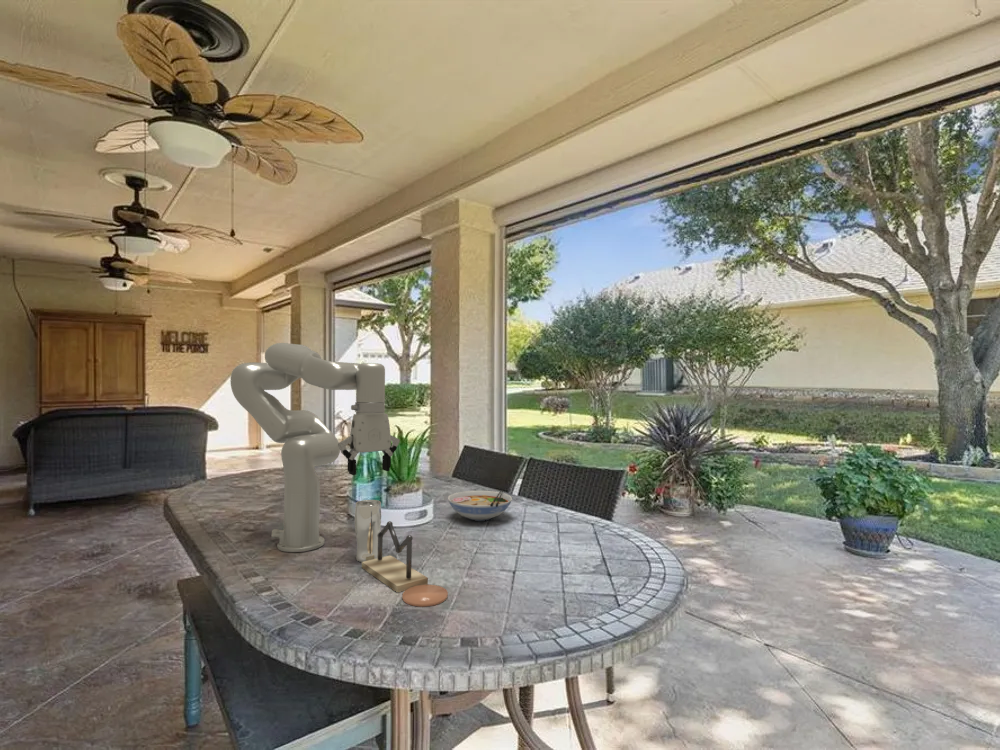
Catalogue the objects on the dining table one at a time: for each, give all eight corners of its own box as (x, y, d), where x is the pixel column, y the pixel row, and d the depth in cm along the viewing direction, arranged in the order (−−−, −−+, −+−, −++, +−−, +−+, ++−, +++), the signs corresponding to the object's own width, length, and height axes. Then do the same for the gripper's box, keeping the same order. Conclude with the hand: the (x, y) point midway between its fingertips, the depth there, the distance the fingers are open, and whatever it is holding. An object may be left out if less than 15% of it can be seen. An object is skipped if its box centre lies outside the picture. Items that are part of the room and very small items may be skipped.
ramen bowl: (455, 508, 189) (456, 486, 189) (515, 511, 186) (516, 489, 186) (438, 526, 164) (439, 502, 164) (507, 530, 161) (508, 505, 161)
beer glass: (373, 564, 130) (374, 506, 130) (348, 561, 131) (350, 504, 132) (384, 555, 137) (385, 500, 137) (361, 553, 138) (362, 498, 138)
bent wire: (375, 559, 128) (376, 516, 129) (381, 557, 129) (382, 515, 130) (407, 579, 116) (408, 532, 116) (413, 577, 117) (413, 531, 117)
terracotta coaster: (396, 605, 107) (396, 602, 107) (409, 586, 116) (409, 583, 116) (442, 607, 106) (442, 605, 106) (451, 588, 116) (451, 585, 116)
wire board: (361, 567, 127) (361, 561, 127) (390, 561, 132) (390, 555, 132) (397, 592, 113) (397, 586, 113) (427, 584, 118) (427, 577, 118)
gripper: (344, 410, 126) (343, 478, 126) (405, 408, 137) (404, 471, 137) (333, 409, 132) (332, 473, 132) (392, 407, 143) (392, 467, 143)
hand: (369, 472), depth 134 cm, fingers open, 9 cm apart
